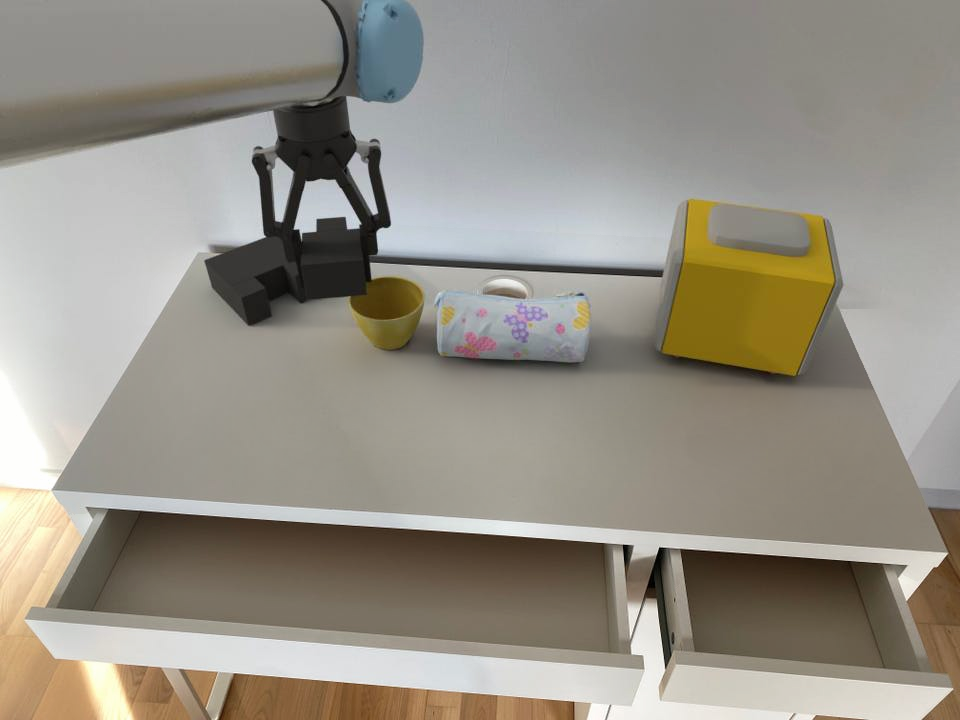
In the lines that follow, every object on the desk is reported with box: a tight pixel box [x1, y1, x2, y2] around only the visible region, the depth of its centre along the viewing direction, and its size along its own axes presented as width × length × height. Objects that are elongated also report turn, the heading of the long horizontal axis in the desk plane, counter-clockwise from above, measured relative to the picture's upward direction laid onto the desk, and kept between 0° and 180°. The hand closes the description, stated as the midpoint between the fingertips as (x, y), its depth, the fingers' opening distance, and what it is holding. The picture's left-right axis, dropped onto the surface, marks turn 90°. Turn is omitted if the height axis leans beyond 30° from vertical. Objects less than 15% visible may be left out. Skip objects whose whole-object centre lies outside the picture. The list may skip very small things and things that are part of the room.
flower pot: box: [348, 275, 426, 351], centre depth 98 cm, size 10×10×7 cm
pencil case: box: [433, 288, 592, 363], centre depth 95 cm, size 21×9×10 cm, turn 89°
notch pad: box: [203, 236, 308, 327], centre depth 106 cm, size 12×12×5 cm
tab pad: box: [301, 216, 367, 301], centre depth 87 cm, size 7×10×5 cm
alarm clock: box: [653, 198, 844, 377], centre depth 95 cm, size 20×16×18 cm
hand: (336, 278), depth 88 cm, fingers closed on tab pad, 7 cm apart
